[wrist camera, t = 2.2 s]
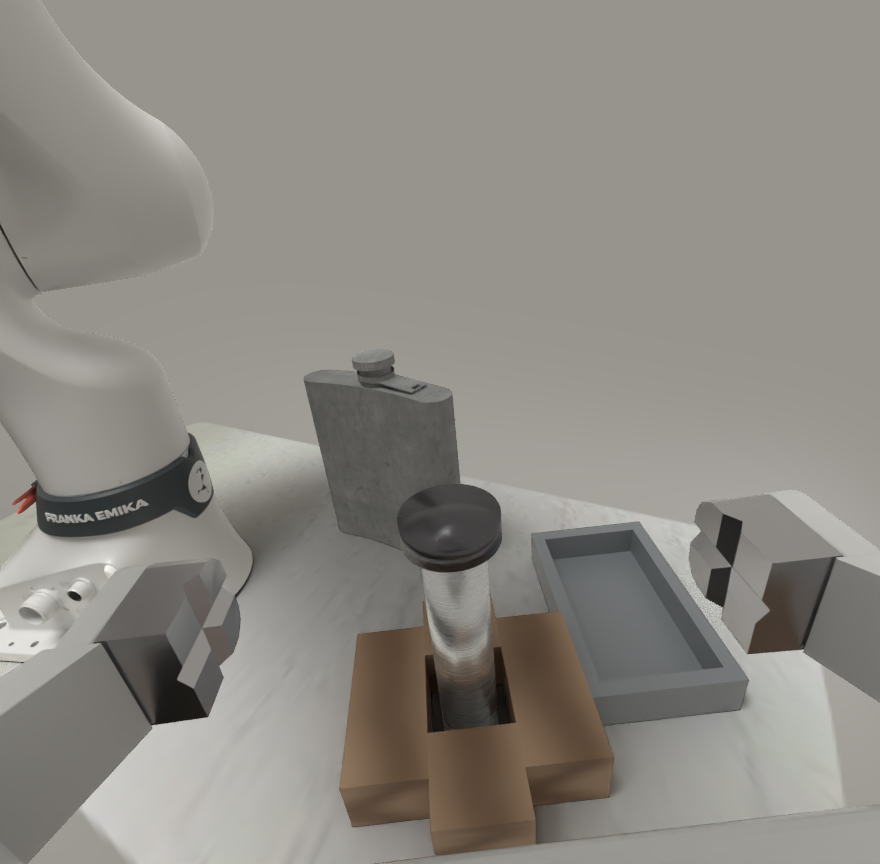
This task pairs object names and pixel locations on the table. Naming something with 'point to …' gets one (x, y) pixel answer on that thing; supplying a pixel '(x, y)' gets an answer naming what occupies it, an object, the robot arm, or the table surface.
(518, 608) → the table surface
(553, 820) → the table surface
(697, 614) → the tray
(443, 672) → the steel pin
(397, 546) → the hip flask
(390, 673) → the block
